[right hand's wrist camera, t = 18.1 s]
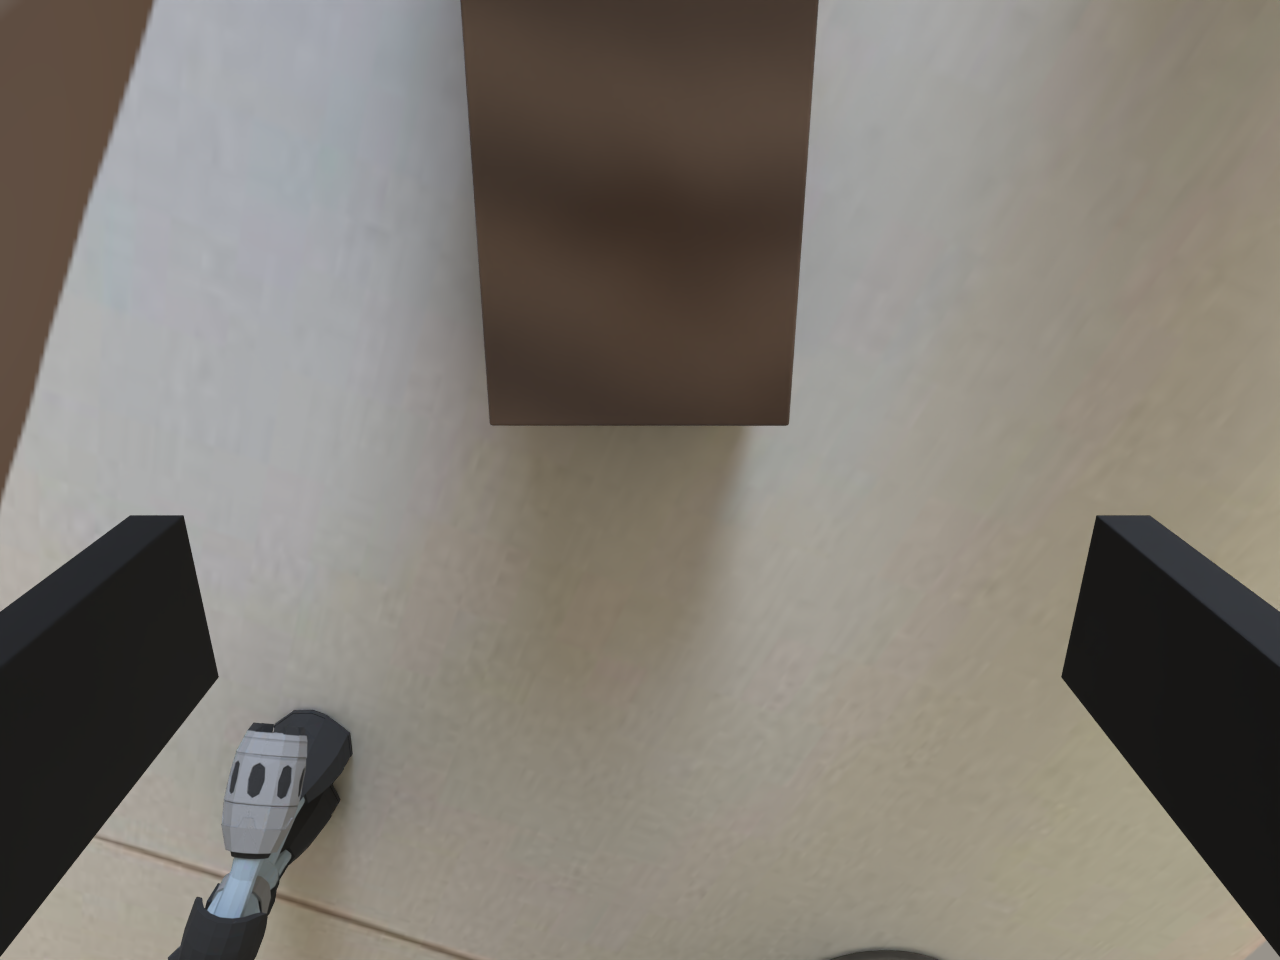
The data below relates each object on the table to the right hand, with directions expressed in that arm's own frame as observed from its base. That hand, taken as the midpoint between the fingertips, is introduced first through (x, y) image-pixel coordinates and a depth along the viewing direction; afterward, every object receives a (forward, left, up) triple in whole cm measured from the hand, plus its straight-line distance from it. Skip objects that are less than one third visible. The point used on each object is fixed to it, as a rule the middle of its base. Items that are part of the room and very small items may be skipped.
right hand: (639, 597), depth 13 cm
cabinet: (+3, +3, -28) cm, 29 cm away
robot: (-33, -1, -28) cm, 44 cm away
